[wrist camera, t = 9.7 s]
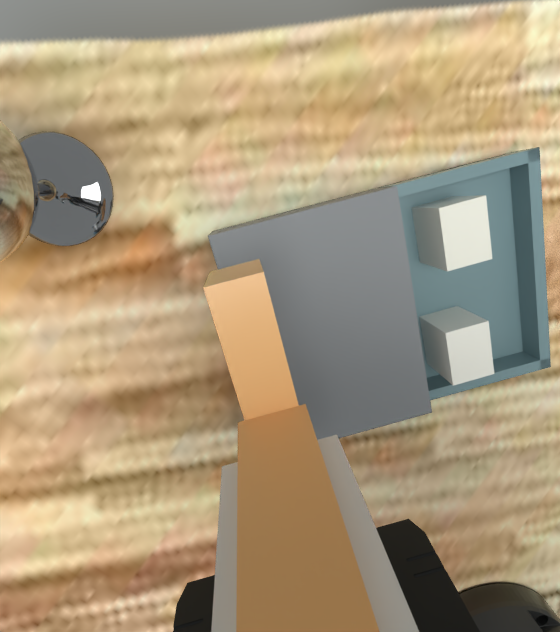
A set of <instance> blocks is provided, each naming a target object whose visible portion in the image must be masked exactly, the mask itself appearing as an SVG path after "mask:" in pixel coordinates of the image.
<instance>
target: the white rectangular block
mask: <svg viewBox="0 0 560 632" xmlns="http://www.w3.org/2000/svg"><path fill="white" fill-rule="evenodd" d="M412 214H413V220H414V227H415V233H416V240H417V246H418V252H419V259H420V263H423V264H426V265H430V266H433V267H436V268H439V269H442V270H445V271H451V270H454V269H458V268H462V267H465V266H469V265H472V264H476V263H480V262H483V261H487V260H490V259H492V249H491V239H490V229H489V219H488V209H487V199H486V195H479V196H452V197H448V198H444V199H441V200H437V201H433V202H430V203H426V204H422V205H419V206H415V207H412Z"/></svg>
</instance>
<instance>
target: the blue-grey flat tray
mask: <svg viewBox="0 0 560 632" xmlns="http://www.w3.org/2000/svg"><path fill="white" fill-rule="evenodd" d="M393 186H397V189H398V196H399V202H400V209H401V215H402V221H403V228H404V234H405V241H406V247H407V254H408V260H409V267H410V273H411V280H412V286H413V293H414V299H415V306H416V312H417V318H418V325H419V331H420V338H421V344H422V351H423V357H424V364H425V370H426V377H427V383H428V390H429V396H430V400H433V399H437V398H440V397H444V396H447V395H451V394H455V393H458V392H462V391H465V390H469V389H473V388H476V387H480V386H483V385H487V384H491V383H494V382H498V381H501V380H505V379H509V378H512V377H516V376H519V375H523V374H527V373H530V372H534V371H537V370H541V369H545V368H548V367H551V364H550V345H549V325H548V306H547V287H546V267H545V248H544V228H543V209H542V189H541V170H540V150H539V147H537V148H532V149H526V150H521V151H516V152H511V153H508V154H504V155H500V156H496V157H492V158H489V159H485V160H481V161H477V162H473V163H470V164H466V165H462V166H458V167H454V168H451V169H447V170H443V171H439V172H436V173H432V174H428V175H424V176H420V177H417V178H413V179H409V180H405V181H401V182H398V183H394V184H390V185H386V186H383V187H379V188H384V187H393ZM479 195H486V199H487V209H488V219H489V229H490V239H491V249H492V259H490V260H487V261H483V262H480V263H476V264H472V265H469V266H465V267H462V268H458V269H454V270H451V271H445V270H442V269H439V268H436V267H433V266H430V265H426V264H423V263H420V259H419V252H418V246H417V240H416V233H415V227H414V220H413V214H412V207H415V206H419V205H422V204H426V203H430V202H433V201H437V200H441V199H444V198H448V197H452V196H479ZM455 306H458V307H460V308H462V309H465V310H467V311H469V312H471V313H473V314H475V315H477V316H479V317H481V318H483V319H485V320H488V321H489V329H490V339H491V348H492V357H493V366H494V374H492V375H489V376H485V377H482V378H478V379H475V380H471V381H468V382H464V383H461V384H457V385H454V386H453V385H452V384H451V383H449V382H448V381H447V380H446V379H445V378H444V377H442V376H441V375H440V374H439V373H438V372H437V371H435V370H434V369H433V368H432V367H431V366H430V365H428V364H427V360H426V354H425V347H424V341H423V335H422V329H421V323H420V316H423V315H427V314H430V313H434V312H437V311H441V310H445V309H448V308H452V307H455Z"/></svg>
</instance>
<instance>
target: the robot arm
mask: <svg viewBox="0 0 560 632" xmlns="http://www.w3.org/2000/svg"><path fill="white" fill-rule="evenodd" d="M317 441H318V444H319V447H320V450H321V453H322V456H323V459H324V462H325V465H326V468H327V472H328V475H329V478H330V481H331V484H332V487H333V490H334V493H335V496H336V499H337V502H338V505H339V508H340V512H341V515H342V518H343V521H344V524H345V527H346V530H347V533H348V536H349V539H350V542H351V545H352V548H353V552H354V555H355V558H356V561H357V564H358V567H359V570H360V573H361V576H362V579H363V582H364V585H365V588H366V592H367V595H368V598H369V601H370V604H371V607H372V610H373V613H374V616H375V619H376V622H377V625H378V628H379V632H560V619H559V618H558V617H557V615H556V614H555V613H554V612H553V610H552V609H551V608H550V606H549V605H548V604H547V602H546V601H545V600H544V599H543V598H542V597H541V596H540V595H539V594H538V593H536V592H535V591H533V590H531V589H529V588H526V587H523V586H519V585H514V584H491V585H485V586H480V587H476V588H473V589H470V590H468V591H465V592H463V593H461V594H459V593H458V591H457V590H456V588H455V586H454V584H453V582H452V581H451V579H450V577H449V575H448V573H447V572H446V570H445V569H444V566H443V564H442V563H441V561H440V559H439V557H438V555H437V554H436V553H435V550H434V548H433V547H432V545H431V543H430V541H429V539H428V538H427V536H426V534H425V532H424V531H422V530H421V529H420V528H419V527H418V526H416V525H415V524H414V523H413V522H412V521H410V520H409V519H406V520H403V521H399V522H396V523H392V524H389V525H385V526H382V527H378V528H376V527H375V525H374V522H373V520H372V517H371V515H370V513H369V510H368V508H367V505H366V503H365V501H364V498H363V496H362V493H361V491H360V489H359V486H358V484H357V481H356V479H355V477H354V474H353V472H352V469H351V467H350V465H349V462H348V460H347V457H346V455H345V453H344V450H343V448H342V445H341V443H340V441H339V438H338V436H337V435H333V436H330V437H326V438H322V439H319V440H317ZM237 475H238V462H236V463H232V464H229V465H225V466H222V475H221V490H220V506H219V521H218V536H217V552H216V567H215V575H214V576H210V577H207V578H203V579H200V580H196V581H193V582H189V583H187V585H186V587H185V589H184V591H183V593H182V595H181V597H180V599H179V601H178V603H177V607H176V614H175V620H174V631H173V632H236V606H237Z"/></svg>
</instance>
